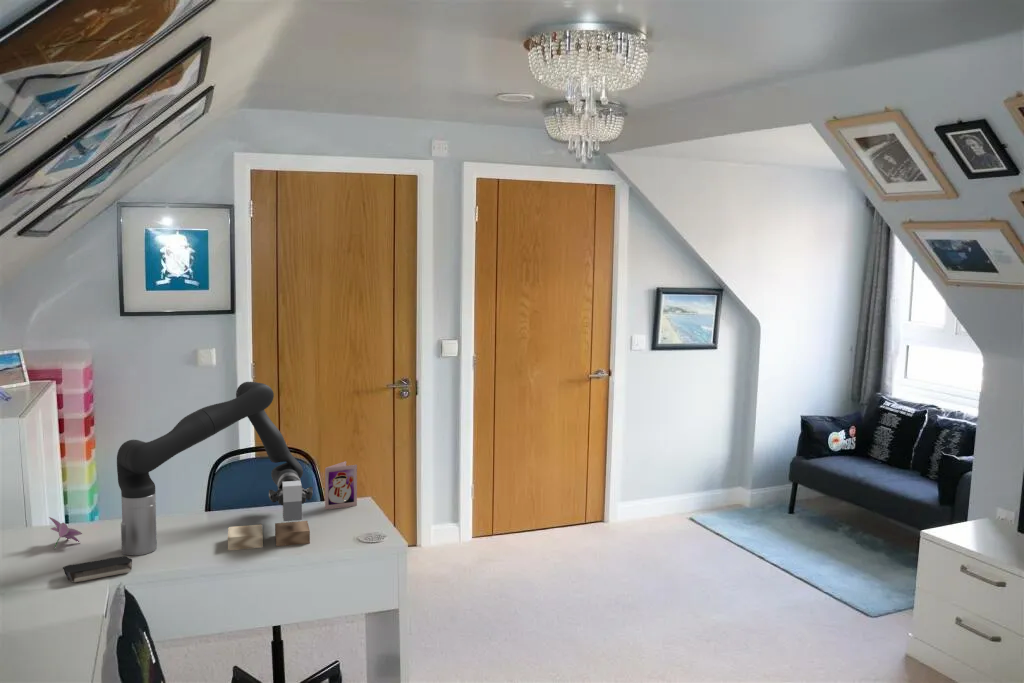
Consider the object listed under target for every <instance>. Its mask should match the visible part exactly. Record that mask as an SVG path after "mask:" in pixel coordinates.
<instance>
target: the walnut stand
mask: <svg viewBox="0 0 1024 683" xmlns="http://www.w3.org/2000/svg"><path fill="white" fill-rule="evenodd" d="M274 534H275V535H274V537H275V546H276V547H283V546H295V545H306V544H310V543H311V539H310V538H311V536H310V535H311V530H310V526H309V523H308V520H297V521H285V522H275V523H274Z"/></svg>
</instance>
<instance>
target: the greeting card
mask: <svg viewBox="0 0 1024 683" xmlns="http://www.w3.org/2000/svg"><path fill="white" fill-rule="evenodd" d="M357 466H358V464H350V465H347V460H345V461H342V462H339V463H336V464H333V465H329V466H326V467H325V468H324V475H325V476H324V484H325V485H324V487H325V488H324V490H325V492H324V496H325V497H324V502H325V503H324V505H325V506H324V510H333V509H339V508H348V507H354V506H355V507H356V506H358V502H357V501H358V467H357ZM344 500H346V501H344Z"/></svg>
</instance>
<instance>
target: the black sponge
mask: <svg viewBox="0 0 1024 683" xmlns="http://www.w3.org/2000/svg"><path fill="white" fill-rule="evenodd" d="M132 568H133V559H132V558H131V557H128V556H127V555H125V556H122V555H121V556H117V557H110V558H105V559H104V558H103V559H98V560H93V561H92V560H91V561H86V562H82V563H75V564H74V563H73V564H68V565H65V566H63V567H62V570H63V572H64V574H65V575H64V576H66V577H67V580H68V581H69V582H72V583H79V582H84V581H85V582H86V581H89V580H94V579H99V578H106V577H110V576H116V575H121V574H126V573H129V572H131V570H132Z"/></svg>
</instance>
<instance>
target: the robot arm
mask: <svg viewBox="0 0 1024 683" xmlns="http://www.w3.org/2000/svg"><path fill="white" fill-rule="evenodd" d="M274 395H275V394H274V391H273V389H272V388H271V387H270V385H267V384H266V383H261V382H257V381H245V382H242V383H241V384H240V385H239V386H238V387H237V388H236V392H235V398H233V399H230V400H226V401H224V402H219V403H214V404H209V405H208V406H204V407H202V408H200V409H197V410H196V411H193V412H191V413H190V414H188V415H186V416H184V417H183V418H182V419H180V420H179V421H178V423H176V425H175V426H174V427H173V428H172V429H171V430H170V431H169V432H168V433H166V434H163V435H161V436H159V437H157V438H156V439H153V440H150V441H142V440H139V439H129V440H127V441H125V442H123V443H122V444H121V445H120V447H119V449H118V450H117V455H116V472H117V481H118V482H117V483H118V487H119V489H120V492H121V493H120V495H121V496H120V497H121V523H120V541H121V542H120V543H121V556H122V555H125V556H127V555H128V556H142V555H143V556H144V555H147V554H150V553H152V552H155V551H156V550H157V548H158V542H157V541H158V540H157V505H156V504H157V503H156V501H157V497H156V484H155V482H154V481H153V479H152V478H151V476H150V473H151V472H152V471H153V470H155V469H157V468H158V467H160V466H162V465H163V464H165V463H166V462H167V461H169V460H171V459H172V458H174V457H175V456H176V455H178V454H180V453H182V452H184V451H185V450H188V449H190V448H192V447H194V446H196V445H197V444H199V443H201V442H203V441H205V440H207V439H209V438H210V437H212V436H215V435H217V434H218V433H219V432H221V431H223V430H225V429H226V428H229V427H231V426H232V425H234V424H235V423H237V422H239V421H241V420H243V419H245V418H248V420H249V421H250V423H251V425H252V426H253V428H254V430H255V431H256V433H257V436H258V437H259V439H260V441H261V443H262V445H263V448H264V451H265V452H266V454H267V456H268V459H269V460H270V462H271V463H276V464H277V463H282V464H280V465H278V466H275V467H274V468H273V469H272V470H271V472H270V474H271V475H270V476H271V479H272V481H273V483H274V484H275V485H276V487H277V491H275V490H273V489H269V490H268V498H269V500H270V501H271V502H272V503H277V502H278V505H280V506H283V489H282V482H286V481H301V478H302V477H303V474H304V470H303V466H302V464H300V462H299V461H298V460H297V458H295V457H294V455H293V454H292V453H291V451H290V449H289V447H288V445H287V443H286V440H285V437H284V436H283V434H282V432H281V431H280V430H279V428H278V427H277V426H276V424H275V423H274V422H273V421H272V420H271V419H270V417H269V416H268V414H267V412H266V409H267V408H269V406H271V404H272V403H273V401H274V397H275V396H274ZM284 462H285V463H284ZM313 490H314V489H313V486H309V487H308V488H306V489H305V488H304V487H302V505H303V504H305V503H306V502H307V501H310V500H311V499H312V497H313V493H314V492H313Z"/></svg>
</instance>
